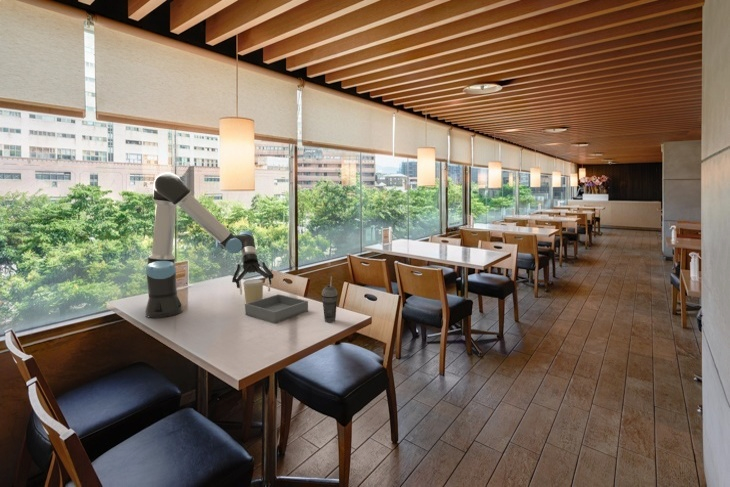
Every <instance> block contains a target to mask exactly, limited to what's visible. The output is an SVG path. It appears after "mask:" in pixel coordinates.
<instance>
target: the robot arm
mask: <svg viewBox="0 0 730 487" xmlns="http://www.w3.org/2000/svg"><path fill="white" fill-rule="evenodd" d="M152 186H153V189H152V191H153V192H152V201H153V202H154V203H155V214H154V215H155V216H154V224H153V237H152V238H153V240H152V251H151V254H149V255H148V257H147V265H146V270H145V273H146V280H147V292H148V301H147V303H146V307H145V316H146V315H147V316H149V317H148V318H151V317H161V318H167V317H166V316H168V317H173V316H176V315H178V314H180V313H182V312H183V305H182V302H181V300H180V298H179V296H178V287H177V286H178V285H177V274H176V270H177V268H176V265H175V264H176V256H175V255H173V246H174V245H173V244H174V236H175V235H174V233H175V225H176V224H175V222H176V212H177V211H176V210H177V206H178V207H179V208H181V210H183V212H185V213H186V214H187V215H188V216H189V217H190V218H191V219H192V220H193V221H195V222H196V223H197V224H198V225H199V226H200V227H201V228H202V229H203V230H204V231H206V233H208V234H209V235H210V236H211V237H212V238H213V239H214V240H215V248H216V249H218V250H226V251H227V253H229V254H238V253H240V252H241V257H242V258H241V259H242V264H239V263H238V264H237V265H236V266H237V268H236V269H235V272H234V274H233V276H232V278H231V280H232V281H231V282H232V284H233V283H236V289H239V295H243V289H242V283H241V282H242V281H241V280H242V279H243V278H244V277H245V275H247V273H249V274H251V273H258V274H259V275H261V276H262V277H263V278H265V279H266V280H265V281H266V286H267V291H268V292H271V285H272V279H274V276H275V275H274V274H273V272H272V271H271V270H270V269H269V267H268V266H267V265H266V262H264V261H263V262H262V263H259V259H258V254H257V249H256V244H255V238H254V234H253V233H252V232H251V231H249V230H244V231H243V230H242V231H241V232H239V233H238V234H237V235H235V234H233V233H231V231H230V230H229V229H227V227H226V226H225V225H224V224H223V223H221V222H220V221H219V220H218V219H217V218H216V216H214V214H212V213H211V212H210V211H209V210H208V209H207V208H206V207H205V206H204V205H203V204H202V203H201V202H199V200H198V199H197V198H195V197H194V196H193V195H192V190H191V189H189V188H188V187H187V185H186V184H185V183H184V182H183V180H182V179H181V178H180V177H179V176H178V175H177V174H175V173H172V172H162V173H160V174H158V175H157V176H156V177H155V178H154V180H153V184H152ZM242 269H243V271H242V272H241V273H240V271H241V270H242ZM239 273H240V275H239ZM238 275H239V276H238ZM175 314H176V315H175ZM172 315H173V316H172ZM147 316H146V317H147Z"/></svg>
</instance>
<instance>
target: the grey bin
mask: <svg viewBox="0 0 730 487" xmlns="http://www.w3.org/2000/svg"><path fill="white" fill-rule="evenodd" d="M308 308H309V300H305V299H301V298H296V297H292V296H288V295H283V294H280V293H278V294H275V295H271V296H267V297H264V298H262V299H261V300H257V301H254V302H250V303H247V304H246V303H245V304H244V309H245V310H244V312H245V313H244V314H245V315H246V316H249V317H252V318H255V319H259V320H262V321H265V322H269V323H271V324H278V323H280V322H283V321H285V320H286V321H287V320H289V319H291V318H293V317H297V316H299V315H301V314H305V313H307V312H309V309H308Z"/></svg>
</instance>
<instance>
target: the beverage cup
mask: <svg viewBox="0 0 730 487" xmlns="http://www.w3.org/2000/svg"><path fill="white" fill-rule="evenodd" d="M332 281H333V276H331V275H330V284H329V285H327V286H325V287H324V288H323V289H322V290H321V300H322V308H323V318H324V323H327V324H332V323H335V322H336V319H337V318H336V316H337V307H338V306H337V304H338V297H339V294H338V290H337V288H336V287H334V286H332Z"/></svg>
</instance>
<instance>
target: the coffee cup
mask: <svg viewBox="0 0 730 487" xmlns="http://www.w3.org/2000/svg"><path fill="white" fill-rule="evenodd" d="M242 285H243V289H244V290H243V291H244V299H245V304H247V303H250V302H254V301H257V300H261V299H263V293H264V292H263V291H264V281H263V279H261V278H260V279H258V278H256V279H255V278H251V279H247V280H244V281H243V284H242Z"/></svg>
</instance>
